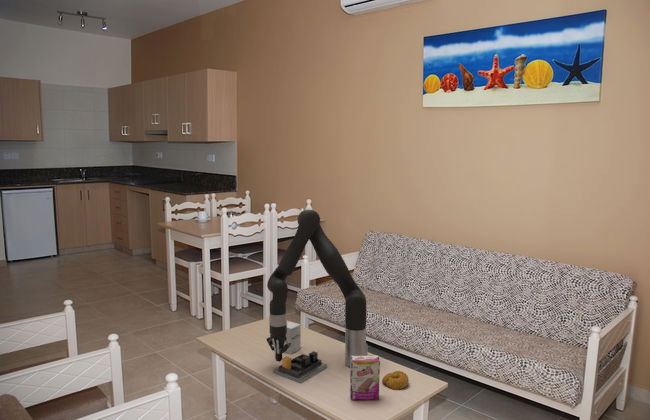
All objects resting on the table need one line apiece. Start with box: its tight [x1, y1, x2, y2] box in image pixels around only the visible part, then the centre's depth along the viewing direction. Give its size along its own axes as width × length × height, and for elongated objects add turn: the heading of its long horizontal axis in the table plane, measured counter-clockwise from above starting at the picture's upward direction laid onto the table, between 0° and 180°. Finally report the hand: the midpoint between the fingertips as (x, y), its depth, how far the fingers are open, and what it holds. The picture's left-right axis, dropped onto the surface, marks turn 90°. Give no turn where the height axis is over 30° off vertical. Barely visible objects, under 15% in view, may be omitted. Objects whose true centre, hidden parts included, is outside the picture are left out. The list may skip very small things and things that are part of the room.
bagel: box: [381, 370, 410, 390], centre depth 204 cm, size 10×11×5 cm
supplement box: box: [285, 321, 302, 355], centre depth 237 cm, size 7×7×13 cm
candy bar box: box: [349, 355, 381, 401], centre depth 192 cm, size 11×5×16 cm, turn 92°
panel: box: [272, 351, 328, 384], centre depth 216 cm, size 16×18×7 cm
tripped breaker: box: [281, 356, 292, 369], centre depth 214 cm, size 2×3×5 cm
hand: (278, 360), depth 217 cm, fingers closed
